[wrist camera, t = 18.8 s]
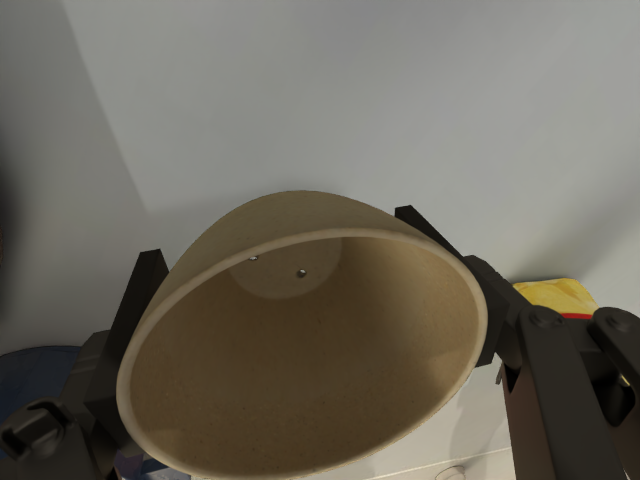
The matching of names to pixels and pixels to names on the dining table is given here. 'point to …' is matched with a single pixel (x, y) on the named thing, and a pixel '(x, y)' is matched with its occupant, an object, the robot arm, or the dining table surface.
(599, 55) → the dining table surface
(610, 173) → the dining table surface
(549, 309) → the robot arm
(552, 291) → the chocolate bunny
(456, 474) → the chalice
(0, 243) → the casserole
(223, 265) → the flower pot
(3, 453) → the pot
